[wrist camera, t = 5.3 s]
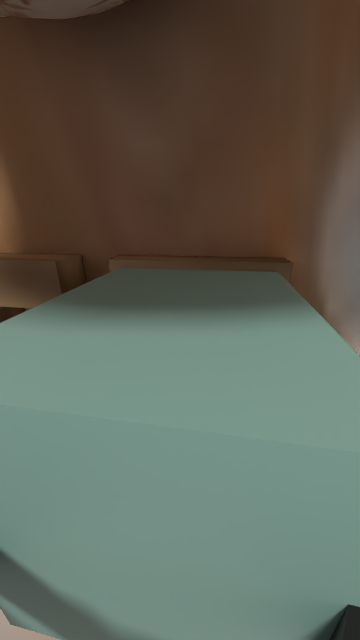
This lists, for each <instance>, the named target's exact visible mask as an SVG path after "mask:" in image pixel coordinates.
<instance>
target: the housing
mask: <svg viewBox="0 0 360 640" xmlns="http://www.w3.org/2000/svg"><path fill="white" fill-rule="evenodd" d="M348 604H349V605H354V606H358V607H360V356H359V355H358V353H357V352H356V351H355V350H354V349H353V348H352V347H351V346H350V345H349V344H348V343H347V342H346V341H345V340H344V339H343V338H342V337H341V336H340V335H339V334H338V333H337V332H336V331H335V330H334V329H333V328H332V327H331V326H330V325H329V324H328V323H327V322H326V320H325V319H324V318H323V317H322V316H321V315H320V314H319V313H318V312H317V311H316V310H315V309H314V308H313V307H312V306H311V305H310V304H309V303H308V302H307V301H306V300H305V299H304V298H303V297H302V296H301V295H300V294H299V293H298V292H297V291H296V290H295V289H294V288H293V286H292V285H291V284H290V283H289V282H288V281H287V280H286V279H285V278H284V277H283V276H282V275H281V274H280V273H279V272H265V271H225V270H185V269H146V268H118V269H116V270H114V271H111V272H109V273H107V274H105V275H103V276H101V277H98V278H96V279H94V280H92V281H90V282H88V283H85V284H83V285H81V286H79V287H77V288H75V289H73V290H70V291H68V292H66V293H64V294H62V295H60V296H57V297H55V298H53V299H51V300H49V301H47V302H45V303H42V304H40V305H38V306H36V307H34V308H32V309H29V310H27V311H25V312H23V313H21V314H19V315H16V316H14V317H12V318H10V319H8V320H6V321H4V322H1V323H0V608H1V610H2V611H3V613H4V615H5V616H6V618H7V619H8V621H9V622H10V624H11V625H14V626H18V627H21V628H24V629H28V630H31V631H35V632H38V633H41V634H45V635H48V636H51V637H55V638H58V639H61V640H329V639H330V637H331V636H332V634H333V632H334V630H335V628H336V626H337V624H338V623H339V621H340V619H341V617H342V615H343V613H344V611H345V609H346V608H347V606H348Z"/></svg>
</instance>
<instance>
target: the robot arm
mask: <svg viewBox="0 0 360 640" xmlns="http://www.w3.org/2000/svg"><path fill="white" fill-rule="evenodd" d="M329 640H360V607H358V606H354V605H349V604H348V606H347V608H346V609H345V611H344V613H343V615H342V617H341V619H340V621H339V623H338V624H337V626H336V628H335V630H334V632H333V634H332V636H331V637H330V639H329Z"/></svg>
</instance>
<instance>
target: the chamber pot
mask: <svg viewBox="0 0 360 640" xmlns="http://www.w3.org/2000/svg"><path fill="white" fill-rule="evenodd" d="M126 1H128V0H0V16H3V17H23V18H43V19H67V18H73V17H79V16H85V15H91V14H97V13H101V12H104V11H106V10H108V9H110V8H113V7H115V6H117V5H119V4H122V3H124V2H126Z"/></svg>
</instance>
